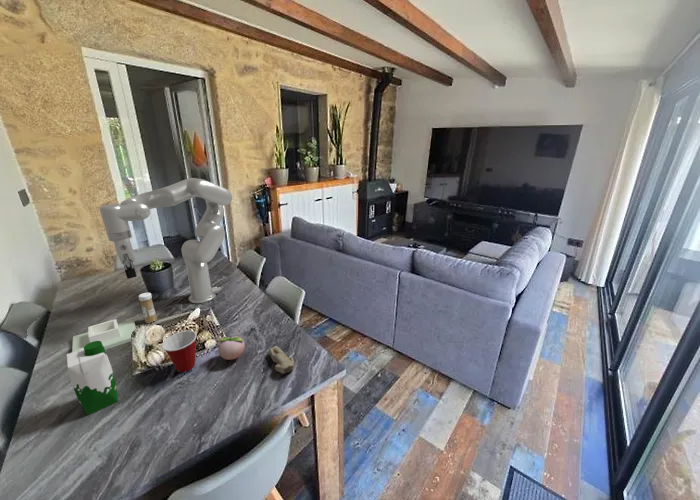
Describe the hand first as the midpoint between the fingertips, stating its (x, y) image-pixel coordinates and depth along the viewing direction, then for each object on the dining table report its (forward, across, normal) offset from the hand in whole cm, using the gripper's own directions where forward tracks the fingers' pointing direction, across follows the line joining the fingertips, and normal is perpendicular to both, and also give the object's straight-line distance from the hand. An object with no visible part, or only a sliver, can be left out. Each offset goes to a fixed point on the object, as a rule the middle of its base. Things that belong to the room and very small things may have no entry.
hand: (130, 273), depth 122 cm
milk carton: (+24, -44, +16) cm, 52 cm away
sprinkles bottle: (+24, -1, -2) cm, 24 cm away
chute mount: (+24, -6, +14) cm, 28 cm away
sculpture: (+25, -63, -35) cm, 77 cm away
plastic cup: (+24, -43, -8) cm, 50 cm away
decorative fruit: (+24, -50, -22) cm, 60 cm away
